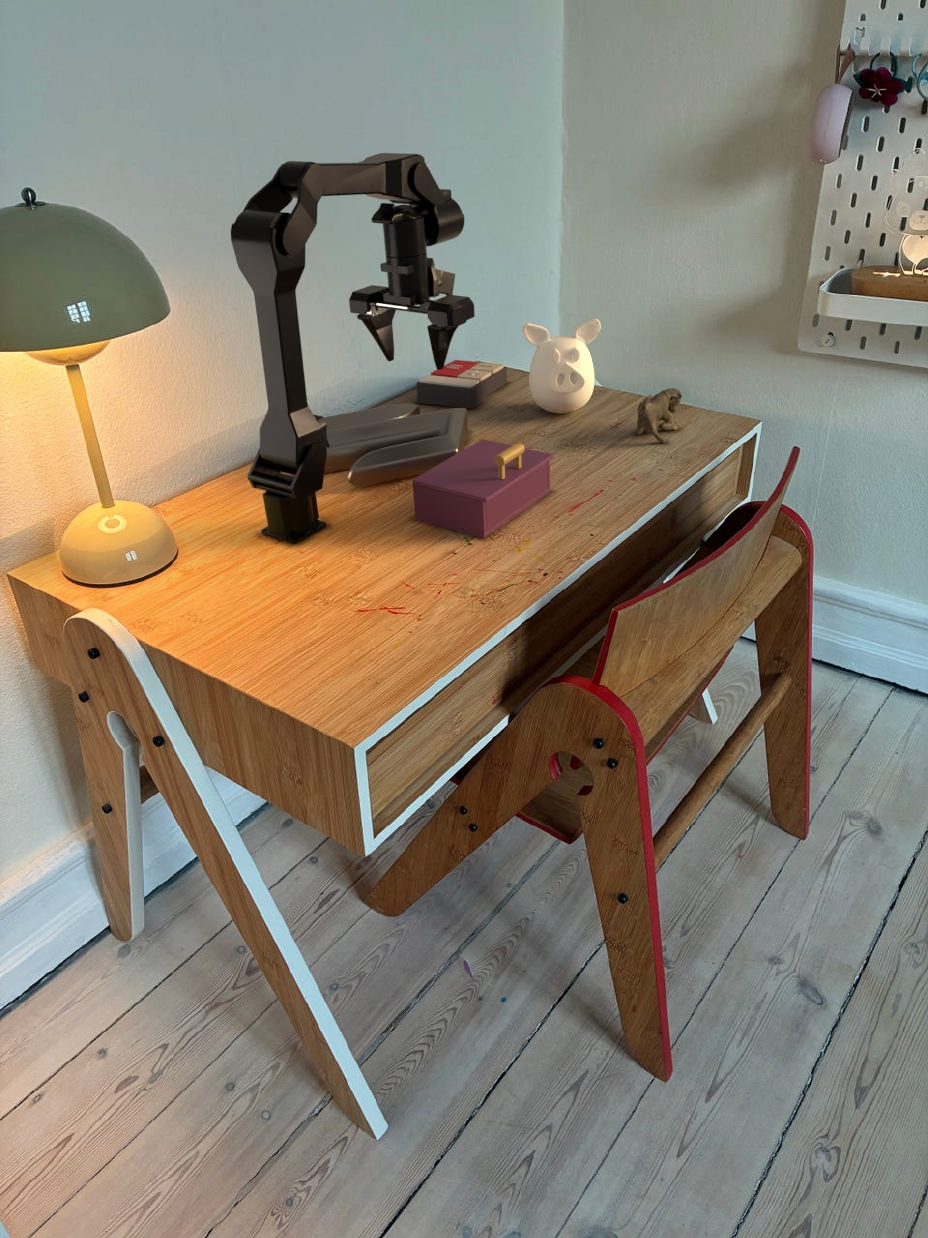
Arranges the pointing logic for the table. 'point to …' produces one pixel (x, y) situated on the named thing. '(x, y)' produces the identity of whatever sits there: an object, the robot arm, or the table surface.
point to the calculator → (461, 384)
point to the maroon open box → (480, 505)
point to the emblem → (392, 442)
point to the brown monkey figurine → (658, 412)
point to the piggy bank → (561, 367)
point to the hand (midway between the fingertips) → (415, 364)
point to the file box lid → (483, 470)
